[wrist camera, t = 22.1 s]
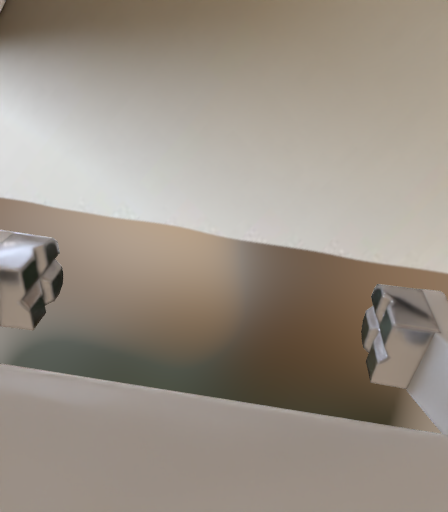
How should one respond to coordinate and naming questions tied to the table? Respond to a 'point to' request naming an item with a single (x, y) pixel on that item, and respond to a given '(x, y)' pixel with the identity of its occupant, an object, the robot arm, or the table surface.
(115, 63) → the table surface
